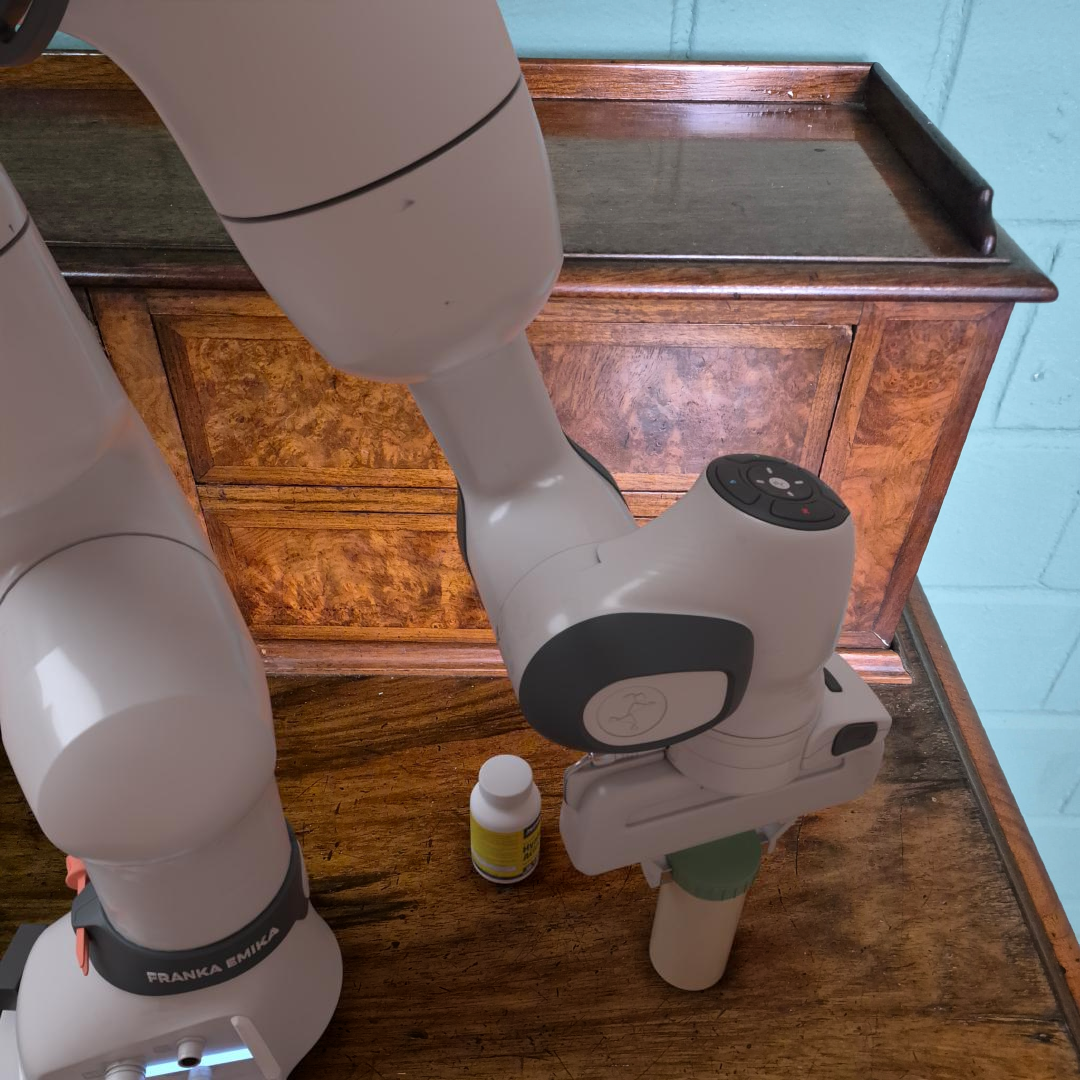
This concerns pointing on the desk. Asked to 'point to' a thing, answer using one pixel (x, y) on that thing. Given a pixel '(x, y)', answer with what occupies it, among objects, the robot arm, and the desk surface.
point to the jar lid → (718, 866)
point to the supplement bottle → (505, 820)
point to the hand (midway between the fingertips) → (708, 861)
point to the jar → (692, 937)
